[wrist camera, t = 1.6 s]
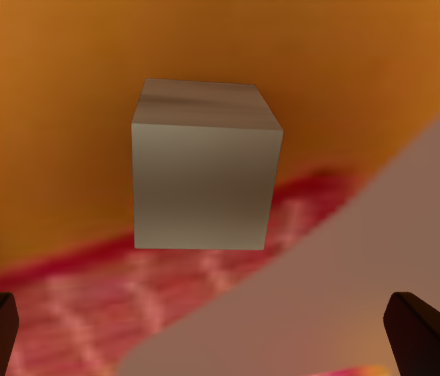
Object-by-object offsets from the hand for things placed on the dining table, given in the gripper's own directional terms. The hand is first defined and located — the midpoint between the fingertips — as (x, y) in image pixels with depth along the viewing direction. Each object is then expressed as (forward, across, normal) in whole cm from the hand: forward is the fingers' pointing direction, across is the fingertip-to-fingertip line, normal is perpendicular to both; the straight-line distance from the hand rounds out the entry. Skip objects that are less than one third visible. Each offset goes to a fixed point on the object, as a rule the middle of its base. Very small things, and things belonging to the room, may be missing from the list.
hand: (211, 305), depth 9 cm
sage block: (+11, 0, 0) cm, 11 cm away
